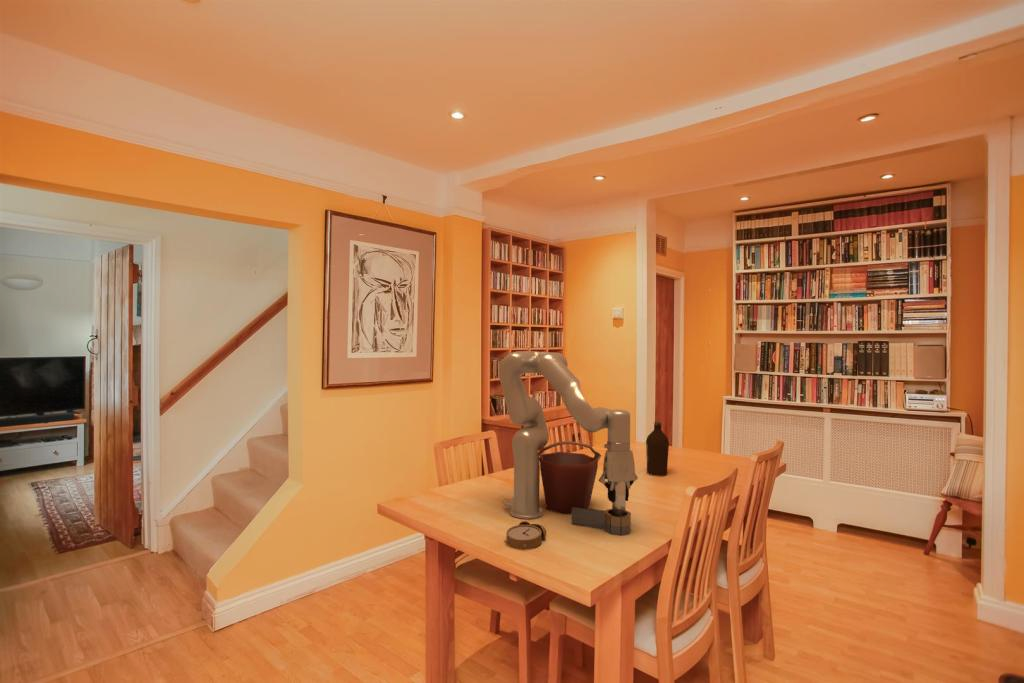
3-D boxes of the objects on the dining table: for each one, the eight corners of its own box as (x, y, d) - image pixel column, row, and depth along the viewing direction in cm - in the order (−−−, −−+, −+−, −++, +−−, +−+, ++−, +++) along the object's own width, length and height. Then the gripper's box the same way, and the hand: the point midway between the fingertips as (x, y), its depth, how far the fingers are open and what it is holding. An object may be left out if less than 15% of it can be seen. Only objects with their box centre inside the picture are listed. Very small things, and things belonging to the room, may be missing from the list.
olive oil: (670, 472, 247) (671, 421, 247) (666, 477, 238) (666, 424, 238) (648, 469, 252) (649, 419, 252) (643, 474, 243) (644, 422, 243)
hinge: (568, 528, 173) (569, 510, 173) (581, 509, 192) (581, 493, 192) (628, 536, 166) (628, 518, 166) (635, 516, 185) (635, 500, 185)
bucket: (601, 501, 202) (603, 439, 202) (596, 520, 180) (597, 450, 180) (541, 495, 208) (542, 434, 208) (529, 513, 187) (530, 445, 187)
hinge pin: (611, 516, 170) (611, 475, 170) (613, 512, 174) (613, 472, 174) (624, 518, 168) (624, 476, 168) (626, 514, 172) (626, 473, 172)
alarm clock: (498, 535, 159) (523, 513, 171) (500, 550, 159) (524, 527, 172) (529, 544, 153) (552, 520, 165) (531, 559, 153) (553, 534, 166)
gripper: (601, 450, 165) (601, 506, 165) (646, 447, 170) (646, 501, 170) (591, 445, 172) (590, 499, 172) (634, 443, 178) (634, 495, 178)
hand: (618, 499), depth 171 cm, fingers closed on hinge pin, 4 cm apart
